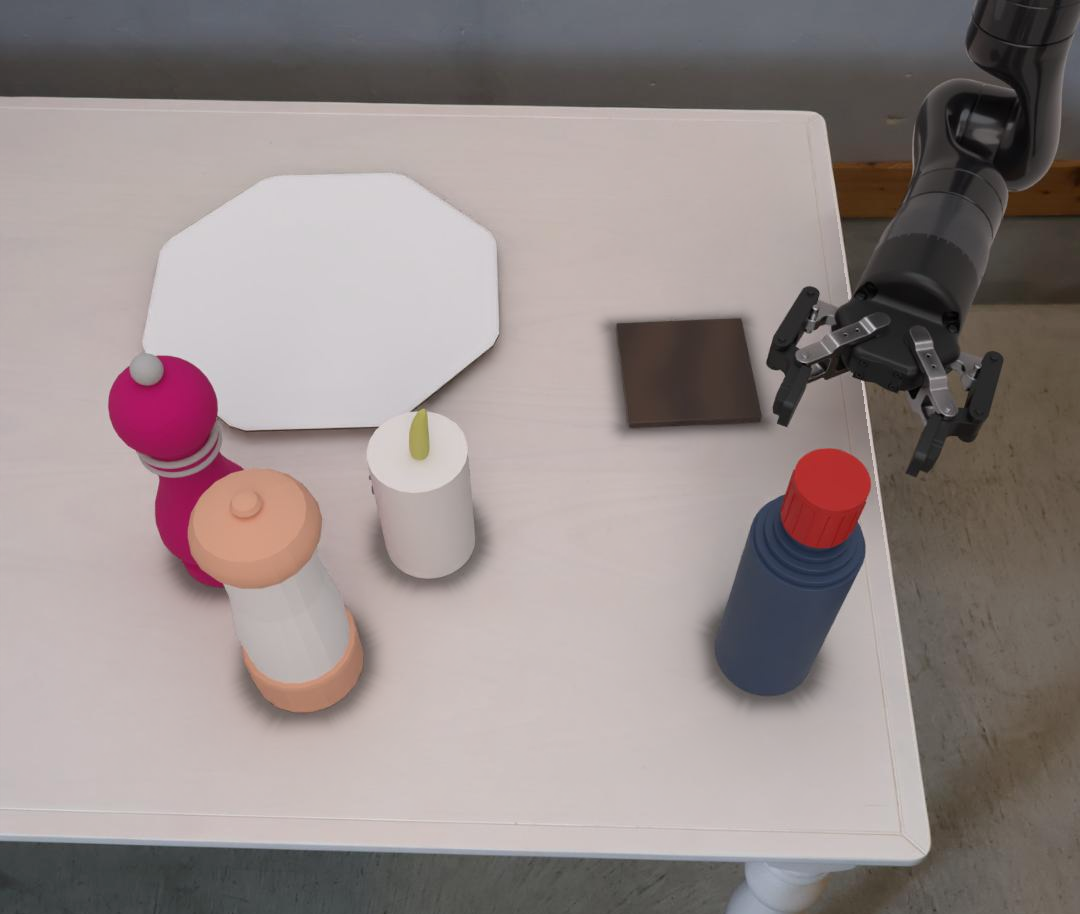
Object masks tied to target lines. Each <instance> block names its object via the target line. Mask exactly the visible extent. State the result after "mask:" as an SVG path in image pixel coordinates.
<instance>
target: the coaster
mask: <svg viewBox="0 0 1080 914" xmlns="http://www.w3.org/2000/svg"><path fill="white" fill-rule="evenodd" d="M615 332H616V339H617V346H618V353H619V354H618V355H619V363H620V371H621V379H622V386H623V394H624V401H625V410H626V416H627V425H628V428H631V429H632V428H649V427H673V426H693V425H695V426H696V425H717V424H739V423H741V424H742V423H761V421H762V418H763V414H762V411H761V406H760V401H759V395H758V391H757V387H756V381H755V377H754V372H753V368H752V363H751V357H750V354H749V348H748V344H747V339H746V335H745V330H744V325H743V320H742V318H741V317H736V318H735V317H733V318H731V317H730V318H711V319H688V320H685V319H684V320H663V321H661V320H660V321H640V322H639V321H638V322H637V321H636V322H635V321H634V322H616V324H615Z"/></svg>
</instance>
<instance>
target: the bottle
mask: <svg viewBox="0 0 1080 914" xmlns="http://www.w3.org/2000/svg"><path fill="white" fill-rule="evenodd" d="M784 496H785V493H784V494H781V495H779V496H777V497H775V498H774V499H771V500H770V501H769V502H767V503H766V504H764V505H763V506H762V507H761V508H760V509H759V510H758V511H757V513H755V515H754V518H753V519H752V522H751V524H750V528H749V531H748V535H747V538H746V540H745V543H744V547H743V551H742V552H741V553H742V554H741V555H740V556H741V557H740V560H739V563H738V566H737V570H736V571H735V576H734V579H733V582H732V585H731V589H730V592H729V595H728V598H727V602H726V605H725V608H724V610H723V611H724V612H723V614H722V617H721V621H720V624H719V627H718V631H717V634H716V637H715V642H714V652H715V657H716V661H717V664H718V667H719V668H720V670H721V672H722V673H723V674H724V676H725V677H726V678H727V679H728V680H729V681H730V682H731V683H732V684H733V685H735V686H736V687H738V688H739V689H741V690H743V691H745V692H747V693H750V694H753V695H758V696H764V697H774V696H780V695H784V694H787V693H789V692H791V691H793V690H795V689H796V688H797V687H799V686H800V685H801V684H802V683H803V682H804V681H805V680H806V678H807V676H808V674H810V673H809V672H810V670H811V669H812V667H813V665H814V663H815V661H816V659H817V657H818V654H819V652H820V650H821V649H822V646H823V644H824V642H825V641H826V639H827V637H828V634H829V633H830V630H832V629H831V628H832V626H833V625H834V623H835V621H836V618H837V617H838V614H839V612H840V610H841V609H842V607H843V605H844V603H845V601H846V598H847V597H848V594H849V593H850V591H851V589H852V586H853V584H854V582H855V581H856V578H857V576H858V574H859V572H860V571H861V568H862V567H863V564H864V561H865V558H866V552H867V551H866V549H867V547H866V539H865V536H864V533H863V529H862V527H861V525H860V523H859V521H858V522H857V524H856V526H855V528H854V531H853V532H851V534H850V535H849V537H848V538H847V539H846V540H845V541H844V542H842V543H841V544H839V545H837V546H834V547H830V548H813V547H809V546H806V545H803V544H801V543H800V542H798V541H796V540H795V539H794V538H792V537H791V536H790V535H789V533H788V532H787V531H786V529H785V528H784V526H783V523H782V520H781V512H780V510H781V507H782V504H783V499H784Z"/></svg>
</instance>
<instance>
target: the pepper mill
mask: <svg viewBox="0 0 1080 914" xmlns="http://www.w3.org/2000/svg"><path fill="white" fill-rule="evenodd" d="M107 400H108V402H107V409H108V416H109V417H108V418H109V421H110V423H111V425H112V428H113V430H114V432H115V433H116V434H117V436H118V437H119V438H120V440H121V441H123V443H124V444H125V445H126V446H127V447H129V448H130V449H132V450H134V451H135V453H136V454H137V456H138V458H139V461H140V462H141V464H142V466H143V467H144V468H145V469H147V470H148V471H149V472H150V473H152V474H154V475H157V476H158V486H157V491H156V495H155V500H154V518H155V519H154V520H155V526H156V528H157V531H158V535H159V537H160V539H161V541H162V543H163V545H164V546H165V547H166V549H167V550H168V552H170V553H171V554H172V555H173V556H174V557H176V558H178V559H179V560H180V561H181V563H182V565H183V566H184V568H185V569H186V571H187V573H188V574H189V575H190V576H191V578H193V579H194V580H196V581H197V582H198V583H201V584H203V585H206V586H210V587H215V588H225V587H224V585H223V583H221V582H219V581H217V580H216V579H214V578H213V577H212V576H210V575H209V574H207V573H206V572H204V571H203V570H201V568H200V567H199V565H198V564H197V562H196V561H195V559H194V558H193V557H192V555H191V551H190V546H189V541H188V526H189V521H190V515H191V512H192V510H193V509H194V507H195V505H196V503H197V502H198V500H199V498H200V497H201V496H202V494H203V493H204V492H205V491H206V490H208V489H209V488H210V487H211V486H212V485H213V484H214V483H215V482H216V481H218V480H220V479H222V478H223V477H225V476H227V475H229V474H231V473H234V472H238V471H242V470H245V468H243V467H242V466H241V465H239V464H237V462H234V461H232V460H231V459H229V458H227V457H226V456H224V455H223V454H222V453H221V448H222V444H223V433H222V429H221V427H220V425H219V422H218V416H217V414H218V401H217V397H216V393H215V391H214V389H213V386H212V384H211V383H210V381H209V380H208V378H207V377H206V376H205V374H204V373H203V372H202V371H201V370H200V369H199V368H197V367H196V366H195V365H193V364H192V363H190V362H188V361H186V360H184V359H181V358H178V357H173V356H164V355H158V356H154V355H153V354H148V353H145V352H144V353H139V354H137V355H135V356H134V357H133V358H132V359H131V361H130V363H129V365H128V366H126V368H124V370H122V371H121V372H120V373H119V374H118V375H117V377H116V378H115V380H114V381H113V383H112V384H111V388H110V390H109V394H108V399H107Z"/></svg>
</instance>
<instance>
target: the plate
mask: <svg viewBox="0 0 1080 914" xmlns="http://www.w3.org/2000/svg"><path fill="white" fill-rule="evenodd" d="M498 275H499V273H498V242H497V240H496V239H495V237H494V235H493V234H492V232H491V231H490V230H488V229H487V228H485V227H484V226H482V225H481V224H479V223H478V222H476V221H475V220H473V219H472V218H470V217H469V216H467V215H466V214H464V213H463V212H461V211H459V210H458V209H457V208H455V207H453V206H452V205H451V204H449V203H447V202H446V201H445V200H444V199H442V198H441V197H438V196H437V195H435V194H434V193H432V191H429V190H428V189H427V188H425V187H423V186H422V185H421V184H419V183H418V182H416V181H415V180H413V179H412V178H411V177H409V176H407V175H403V174H400V173H395V172H362V173H326V174H325V173H324V174H323V173H322V174H320V173H319V174H318V173H317V174H280V175H279V174H278V175H273V176H270V177H267V178H263V179H260V181H258V182H256V183H255V184H253V185H251V186H249V188H247V189H246V190H244V191H242V192H241V193H239V194H237V195H236V196H234V197H233V198H231V199H230V200H228V201H226V202H225V203H223V204H222V205H221V206H219V207H217V208H216V209H214V210H212V211H210V213H208V214H206V215H204V216H203V217H202V218H200V219H198V220H197V221H195V222H194V223H193V224H191V225H189V226H188V227H186V228H185V229H183V230H182V231H180V232H178V233H176V234H175V235H174V236H172V237H171V238H169V239H167V241H166V242H165V243H164V245H163V246H162V248H160V249H159V254H158V259H157V264H156V269H155V274H154V279H153V284H152V290H151V294H150V299H149V300H150V301H149V305H148V312H147V315H146V320H145V325H144V331H143V337H142V341H141V344H142V347H143V350H144V353H148V354H153V355H154V356H158V355H164V356H173V357H178V358H181V359H184V360H186V361H188V362H190V363H192V364H193V365H195V366H196V367H197V368H199V369H200V370H201V371H202V372H203V373H204V374H205V376H206V377H207V378H208V380H209V381H210V383H211V384H212V386H213V389H214V391H215V393H216V397H217V401H218V414H217V418H218V419H220V420H221V421H222V422H223V423H224V424H226V425H227V426H228V427H229V428H231V429H234V430H237V431H241V432H244V433H261V432H262V433H263V432H295V431H296V432H297V431H299V432H300V431H328V430H329V431H331V430H334V431H335V430H364V429H365V430H366V429H378V428H379V427H380V426H381V425H382V424H383V423H384V422H386V421H387V420H389V419H391V418H393V417H394V416H397V415H400V414H403V413H407V412H415V410H416V409H418V408H419V407H420V406H421V405H423V404H424V403H425V402H426V401H428V400H429V399H430V398H431V397H433V396H434V395H435V394H436V393H438V392H439V391H440V390H441V389H443V388H444V387H445V386H446V385H448V384H449V383H450V382H451V381H453V380H454V379H455V378H457V377H458V376H459V375H460V374H462V372H464V371H465V370H466V369H468V368H469V367H470V366H471V365H472V364H474V363H475V362H476V361H478V360H479V359H480V358H481V357H482V356H484V355H485V354H487V353H488V352H489V351H490V350H491V349H492V348H494V346H495V344H496V343H497V340H498V338H499V336H500V318H499V317H500V313H499V309H500V307H499V280H498V279H499V277H498Z"/></svg>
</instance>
